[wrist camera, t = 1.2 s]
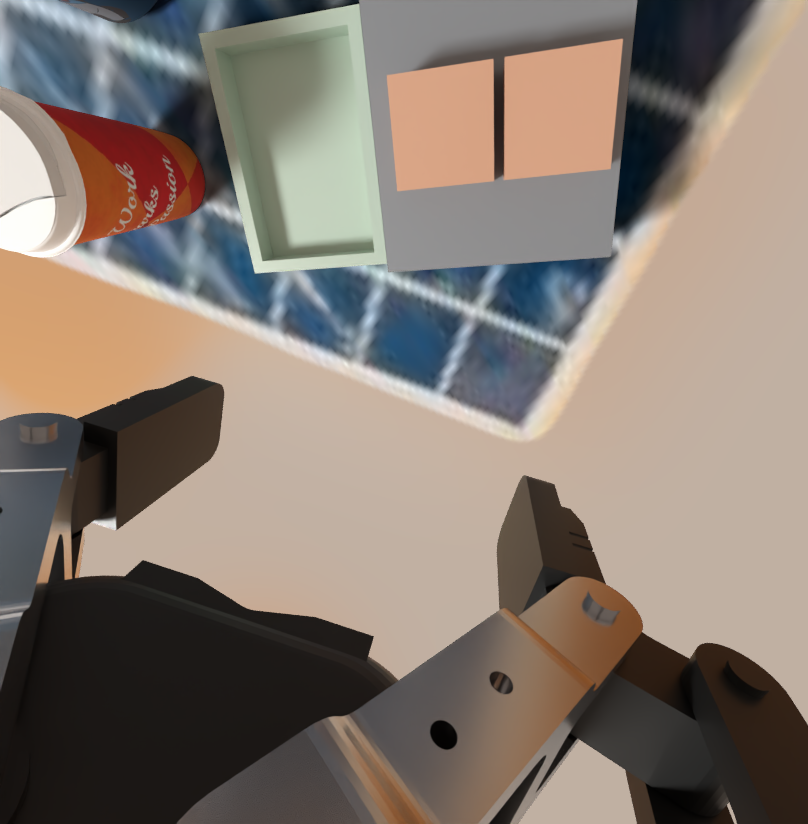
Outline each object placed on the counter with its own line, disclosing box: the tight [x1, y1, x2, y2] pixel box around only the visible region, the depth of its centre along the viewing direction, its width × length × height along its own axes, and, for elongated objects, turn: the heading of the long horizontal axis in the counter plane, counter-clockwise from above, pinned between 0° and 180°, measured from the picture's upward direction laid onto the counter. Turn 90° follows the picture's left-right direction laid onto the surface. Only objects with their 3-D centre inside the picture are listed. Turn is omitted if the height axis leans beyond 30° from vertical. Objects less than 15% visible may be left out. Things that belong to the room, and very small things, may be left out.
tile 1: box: [387, 59, 494, 191], centre depth 23 cm, size 5×5×2 cm
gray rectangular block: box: [359, 0, 637, 272], centre depth 27 cm, size 14×13×6 cm
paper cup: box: [0, 86, 205, 257], centre depth 28 cm, size 8×8×14 cm
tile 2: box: [503, 39, 623, 180], centre depth 22 cm, size 5×5×2 cm
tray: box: [199, 4, 387, 273], centre depth 31 cm, size 14×10×2 cm
